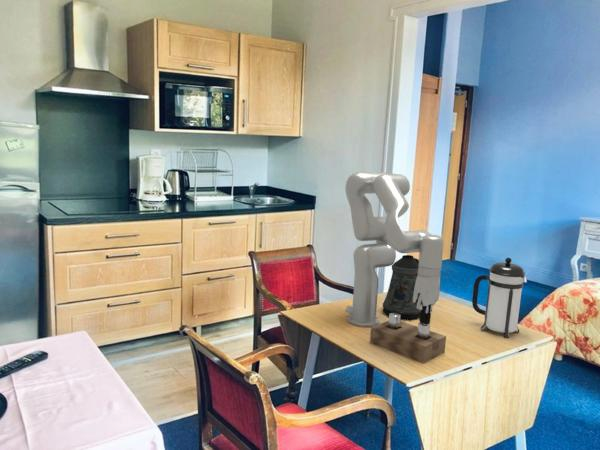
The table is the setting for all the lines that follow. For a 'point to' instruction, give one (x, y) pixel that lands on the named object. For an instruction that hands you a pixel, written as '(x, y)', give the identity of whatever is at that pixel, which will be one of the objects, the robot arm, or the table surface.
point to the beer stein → (402, 289)
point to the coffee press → (501, 297)
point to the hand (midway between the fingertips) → (424, 323)
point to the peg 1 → (394, 321)
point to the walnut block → (408, 341)
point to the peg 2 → (423, 331)
